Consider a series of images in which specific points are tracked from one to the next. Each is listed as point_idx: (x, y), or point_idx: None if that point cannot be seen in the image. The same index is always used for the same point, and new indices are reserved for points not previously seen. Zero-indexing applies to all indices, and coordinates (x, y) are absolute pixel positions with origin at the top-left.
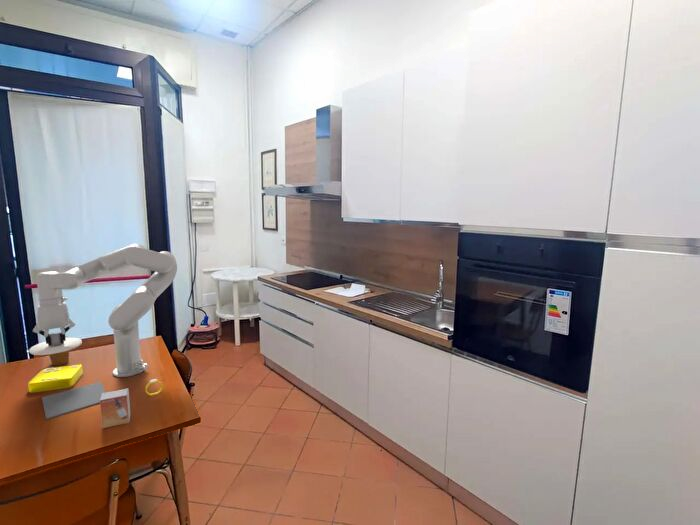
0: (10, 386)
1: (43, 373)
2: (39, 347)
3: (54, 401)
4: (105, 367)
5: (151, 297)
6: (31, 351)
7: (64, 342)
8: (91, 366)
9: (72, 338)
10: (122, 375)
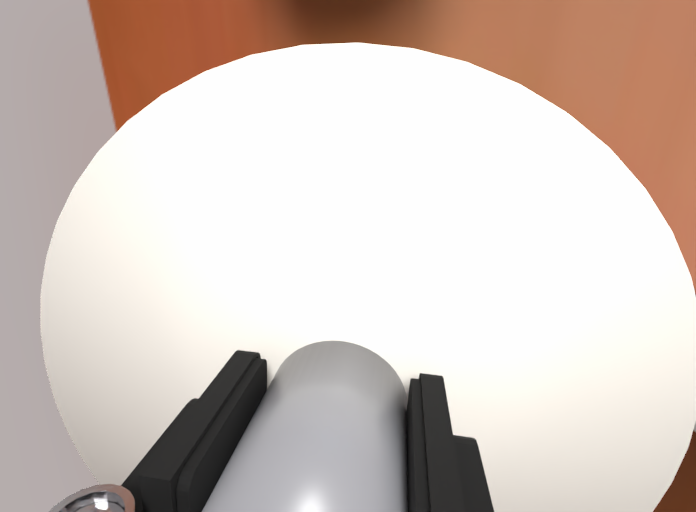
0: (133, 114)
1: None
2: (143, 363)
3: None
4: (664, 169)
5: None
6: (88, 452)
7: (446, 361)
8: (588, 70)
9: (599, 208)
10: (693, 430)
